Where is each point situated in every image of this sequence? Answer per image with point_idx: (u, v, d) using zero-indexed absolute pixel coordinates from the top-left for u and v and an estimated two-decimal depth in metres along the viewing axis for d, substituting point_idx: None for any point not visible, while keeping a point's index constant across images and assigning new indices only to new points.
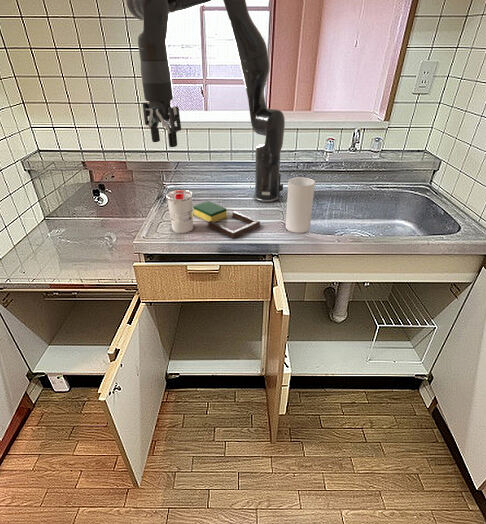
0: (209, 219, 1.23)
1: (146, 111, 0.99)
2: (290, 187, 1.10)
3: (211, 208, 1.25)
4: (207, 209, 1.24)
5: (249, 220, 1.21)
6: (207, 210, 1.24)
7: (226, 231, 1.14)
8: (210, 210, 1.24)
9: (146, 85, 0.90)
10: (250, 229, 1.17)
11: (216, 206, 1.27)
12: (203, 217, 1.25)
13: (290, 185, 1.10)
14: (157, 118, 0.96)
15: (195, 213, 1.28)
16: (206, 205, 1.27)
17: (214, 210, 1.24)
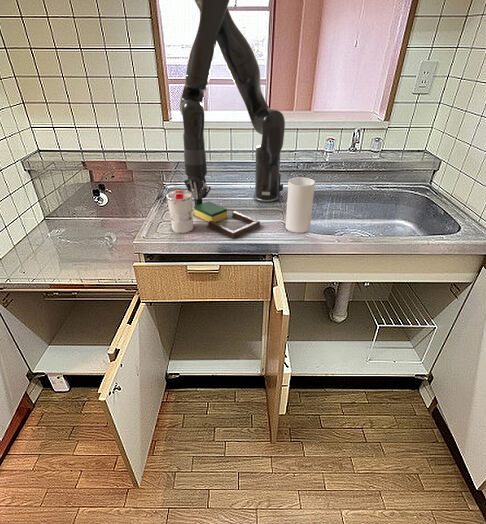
0: (210, 219, 1.23)
1: (188, 185, 1.29)
2: (290, 187, 1.10)
3: (212, 208, 1.25)
4: (208, 209, 1.24)
5: (249, 220, 1.21)
6: (208, 210, 1.23)
7: (226, 231, 1.14)
8: (211, 210, 1.23)
9: (188, 166, 1.20)
10: (250, 229, 1.17)
11: (216, 206, 1.27)
12: (204, 217, 1.25)
13: (290, 185, 1.10)
14: None
15: (195, 213, 1.28)
16: (207, 206, 1.27)
17: (214, 210, 1.24)
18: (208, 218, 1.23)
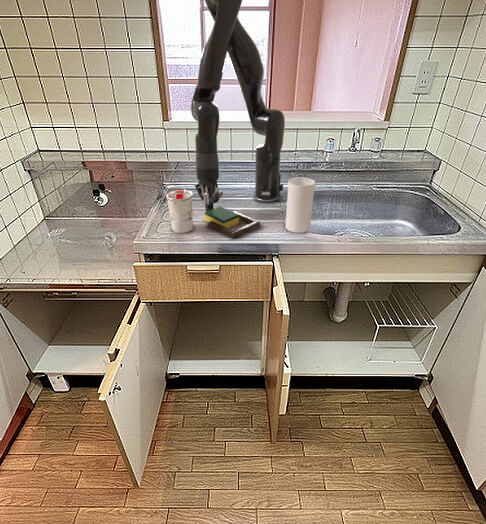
0: None
1: (199, 189, 1.25)
2: (290, 187, 1.10)
3: (223, 214, 1.21)
4: (219, 215, 1.20)
5: (249, 220, 1.21)
6: (219, 216, 1.19)
7: (226, 231, 1.14)
8: (222, 216, 1.19)
9: (200, 170, 1.16)
10: (250, 229, 1.17)
11: (228, 212, 1.22)
12: None
13: (290, 185, 1.10)
14: (205, 191, 1.22)
15: (206, 219, 1.23)
16: (218, 211, 1.23)
17: (226, 216, 1.19)
18: (219, 224, 1.19)
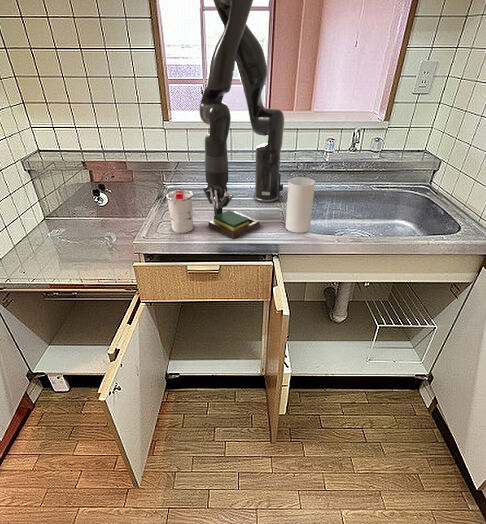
0: None
1: (207, 193, 1.22)
2: (290, 187, 1.10)
3: (233, 218, 1.18)
4: (229, 219, 1.17)
5: (249, 220, 1.21)
6: (229, 220, 1.16)
7: (226, 231, 1.14)
8: (232, 221, 1.16)
9: (209, 173, 1.13)
10: (250, 229, 1.17)
11: (238, 216, 1.19)
12: None
13: (290, 185, 1.10)
14: (214, 195, 1.19)
15: None
16: (228, 215, 1.20)
17: (236, 220, 1.17)
18: None
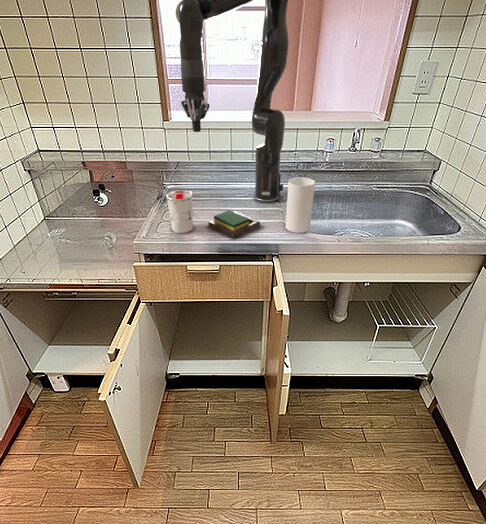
0: None
1: (185, 106, 1.21)
2: (290, 187, 1.10)
3: (233, 218, 1.18)
4: (229, 219, 1.17)
5: (249, 220, 1.21)
6: (229, 220, 1.16)
7: (226, 231, 1.14)
8: (232, 220, 1.16)
9: (185, 79, 1.12)
10: (250, 229, 1.17)
11: (238, 216, 1.19)
12: None
13: (290, 185, 1.10)
14: (192, 106, 1.18)
15: None
16: (228, 215, 1.20)
17: (236, 220, 1.17)
18: None
